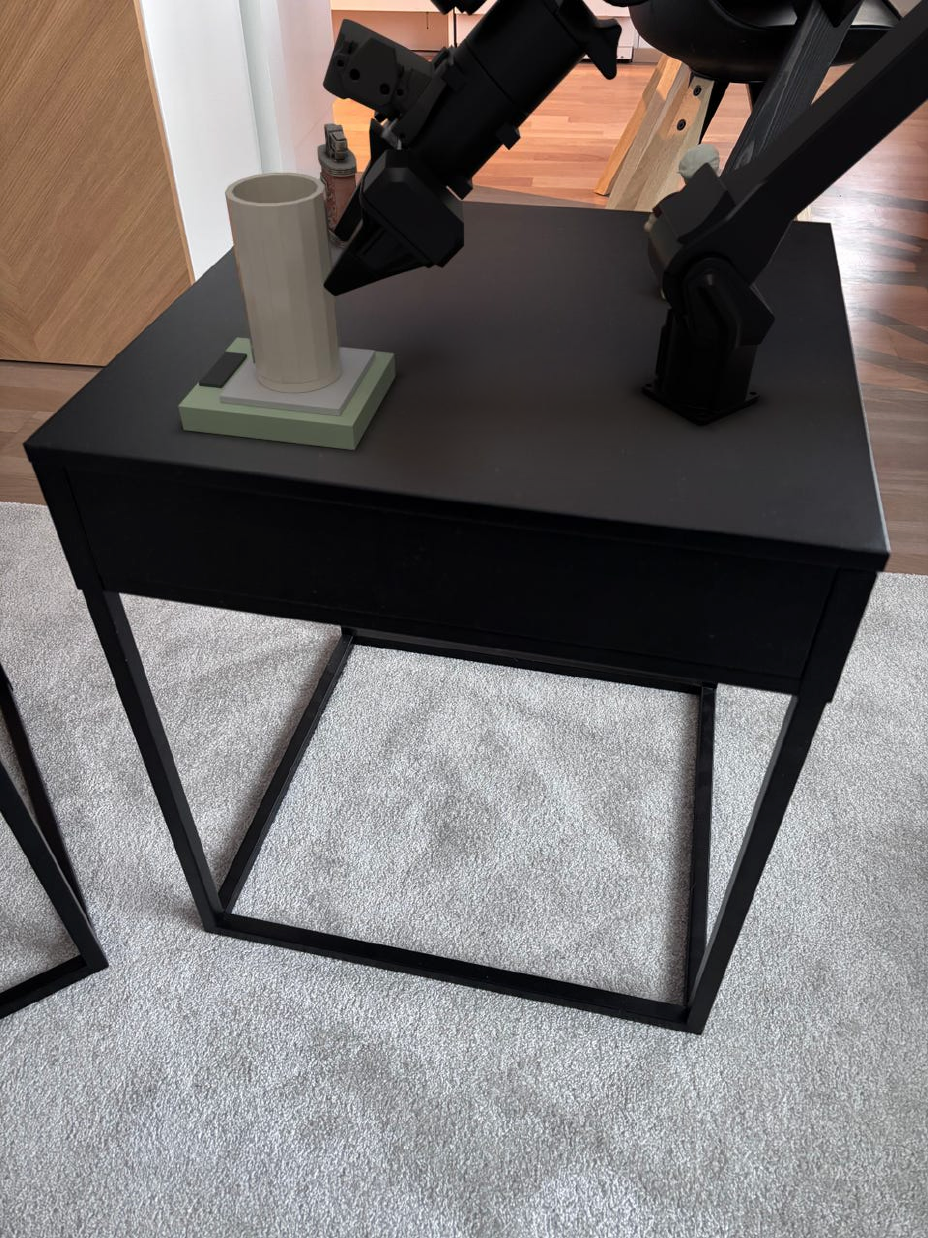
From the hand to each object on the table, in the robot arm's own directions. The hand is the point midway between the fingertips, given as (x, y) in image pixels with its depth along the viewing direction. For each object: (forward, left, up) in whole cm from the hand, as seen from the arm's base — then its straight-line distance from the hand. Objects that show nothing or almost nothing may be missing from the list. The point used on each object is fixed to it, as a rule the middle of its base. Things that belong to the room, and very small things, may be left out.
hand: (333, 262), depth 64 cm
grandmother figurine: (-1, -34, -11) cm, 36 cm away
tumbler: (+2, +3, -8) cm, 9 cm away
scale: (+2, +3, -11) cm, 11 cm away
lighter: (+30, -17, -11) cm, 36 cm away
